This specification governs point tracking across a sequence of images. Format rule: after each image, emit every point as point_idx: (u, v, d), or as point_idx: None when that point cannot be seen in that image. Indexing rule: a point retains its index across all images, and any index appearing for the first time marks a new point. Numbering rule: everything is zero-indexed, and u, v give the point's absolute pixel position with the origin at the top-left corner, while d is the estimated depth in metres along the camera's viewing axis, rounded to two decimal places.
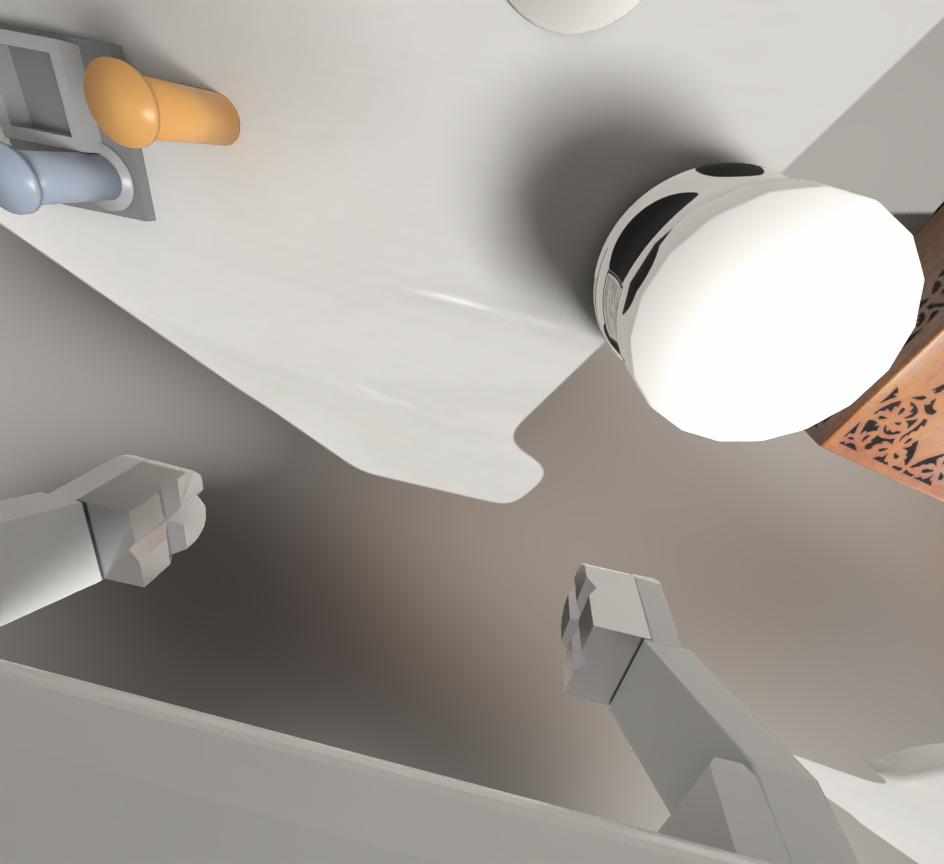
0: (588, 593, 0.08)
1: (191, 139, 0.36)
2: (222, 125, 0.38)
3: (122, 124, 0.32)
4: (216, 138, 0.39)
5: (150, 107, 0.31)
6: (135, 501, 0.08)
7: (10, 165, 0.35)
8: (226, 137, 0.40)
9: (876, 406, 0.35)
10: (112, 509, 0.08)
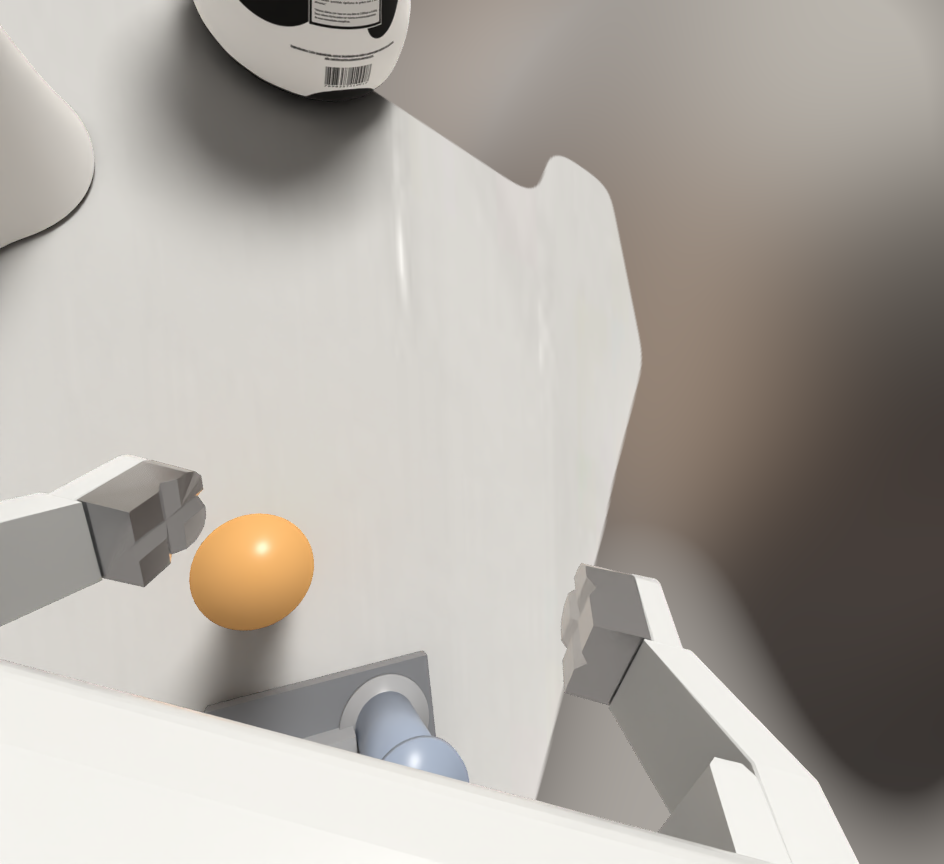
0: (588, 593, 0.08)
1: None
2: None
3: (282, 568, 0.21)
4: None
5: (247, 520, 0.21)
6: (135, 501, 0.08)
7: None
8: None
9: None
10: (112, 509, 0.08)
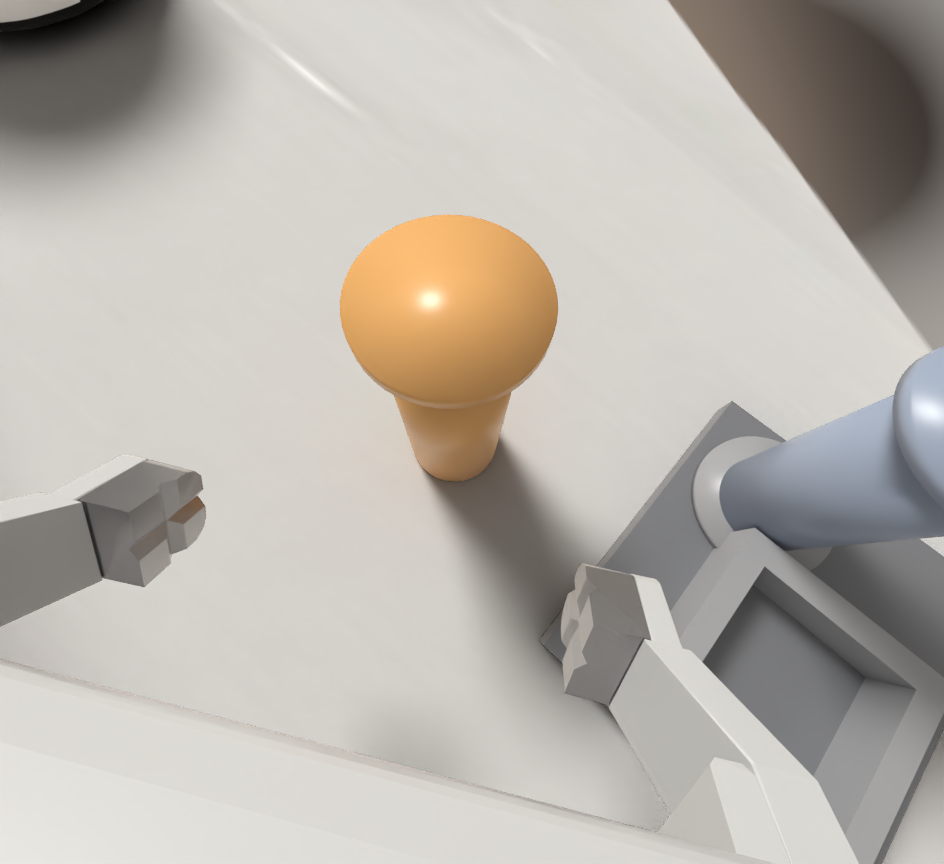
0: (588, 593, 0.08)
1: None
2: None
3: (487, 272, 0.11)
4: None
5: (375, 249, 0.11)
6: (135, 501, 0.08)
7: None
8: None
9: None
10: (112, 509, 0.08)
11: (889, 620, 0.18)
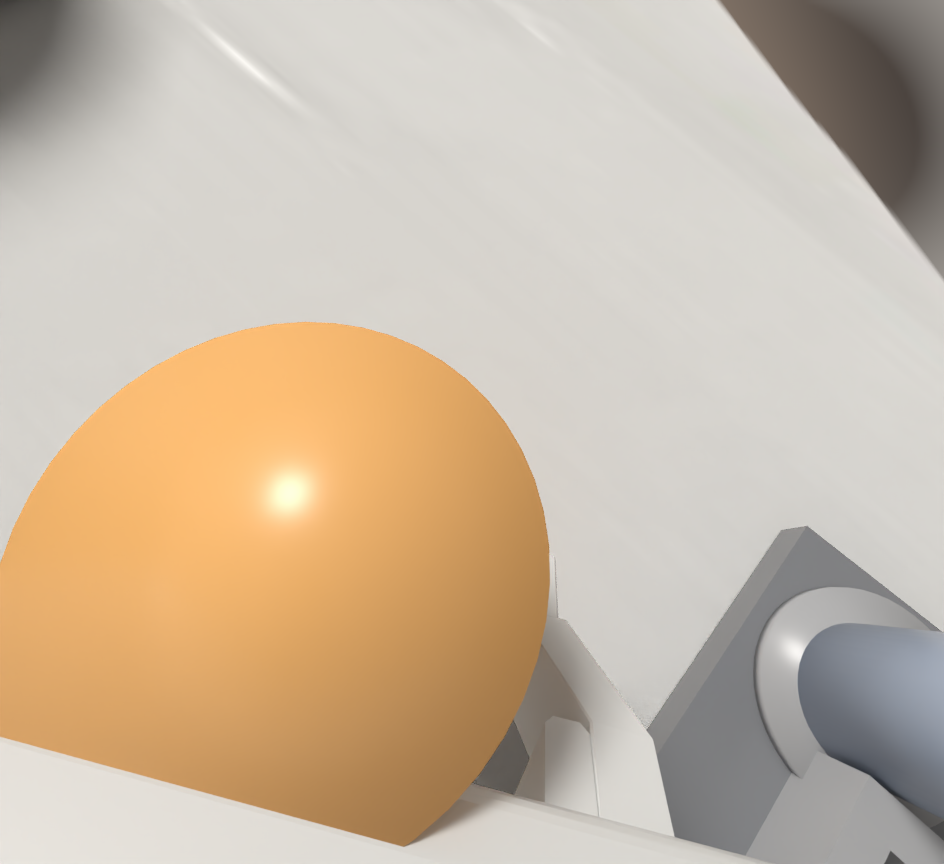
0: None
1: None
2: None
3: (382, 474, 0.05)
4: None
5: (124, 412, 0.05)
6: None
7: None
8: None
9: None
10: None
11: None
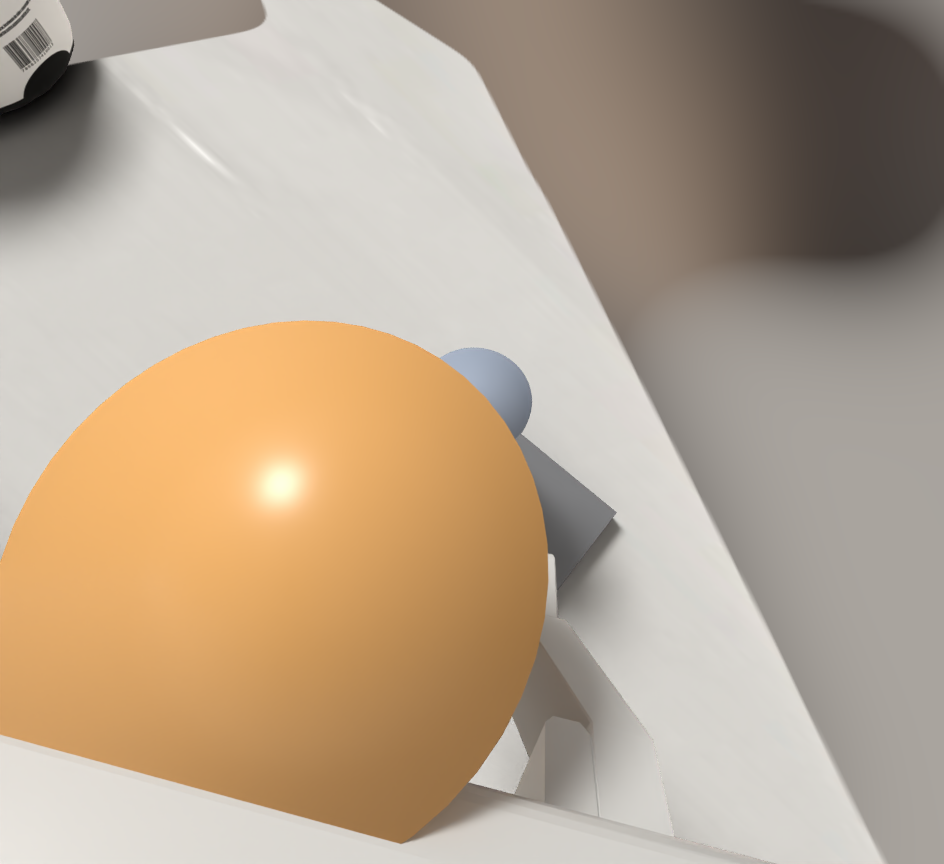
0: None
1: None
2: None
3: (381, 472, 0.05)
4: None
5: (123, 409, 0.05)
6: None
7: None
8: None
9: None
10: None
11: None
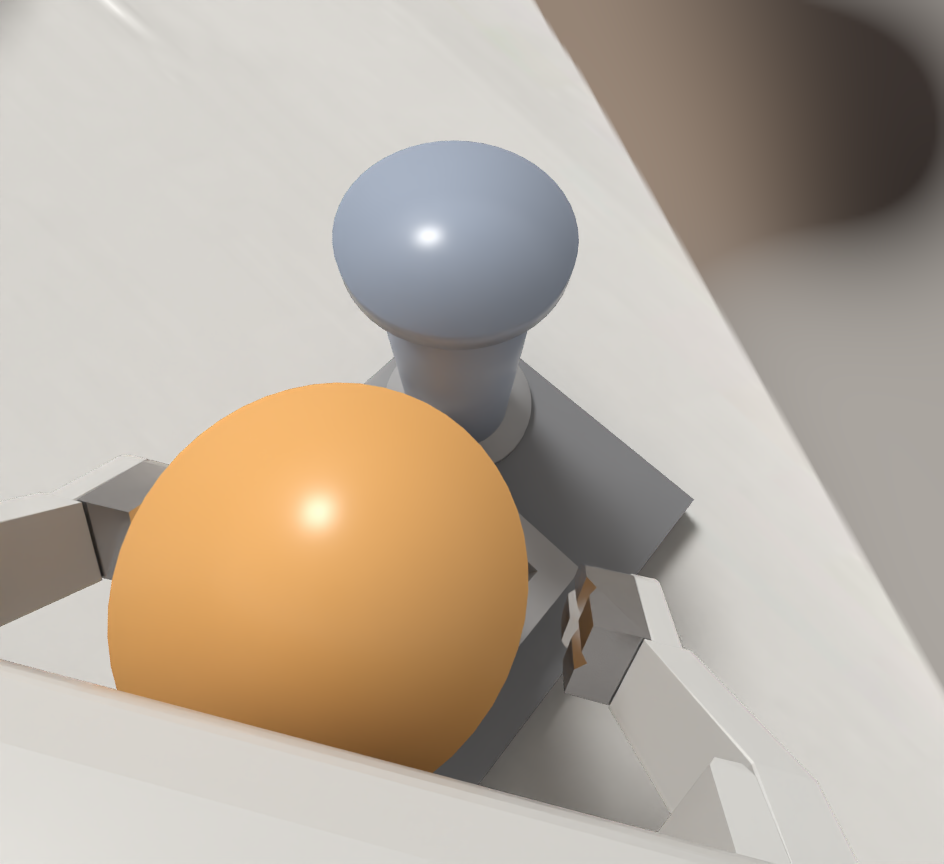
0: (588, 593, 0.08)
1: None
2: None
3: (399, 507, 0.06)
4: None
5: (198, 457, 0.06)
6: (135, 501, 0.08)
7: (385, 231, 0.09)
8: None
9: None
10: (112, 509, 0.08)
11: (568, 517, 0.17)
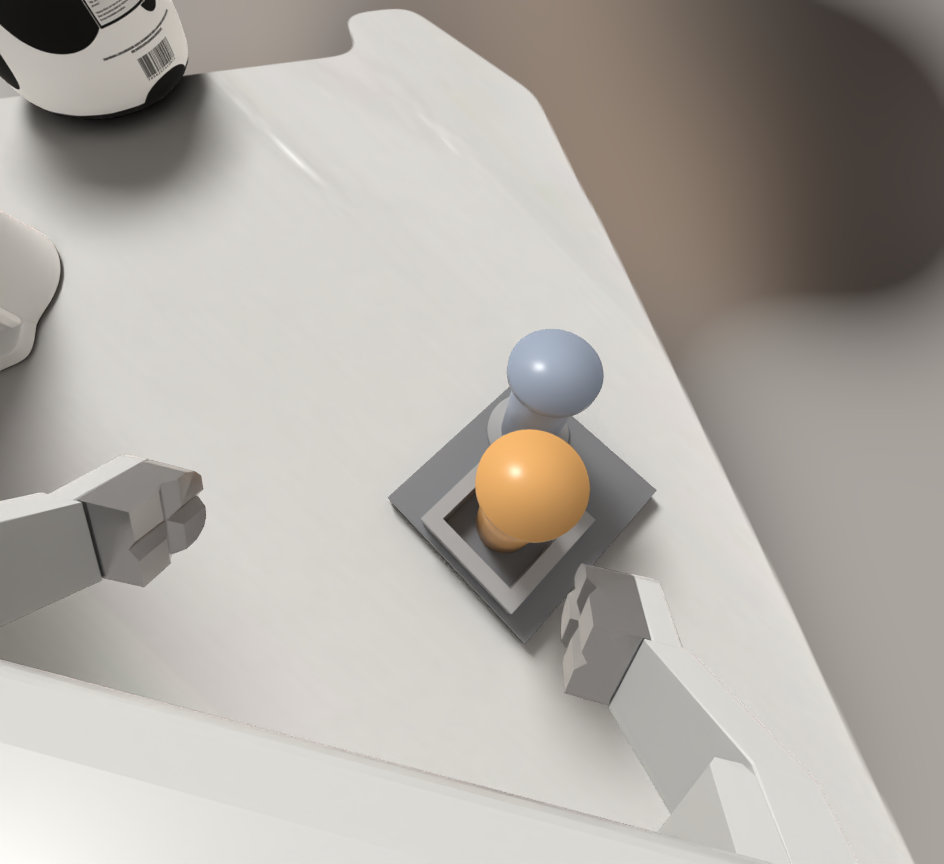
0: (588, 593, 0.08)
1: None
2: None
3: (552, 466, 0.20)
4: None
5: (493, 449, 0.20)
6: (135, 501, 0.08)
7: (528, 369, 0.24)
8: None
9: None
10: (112, 509, 0.08)
11: None
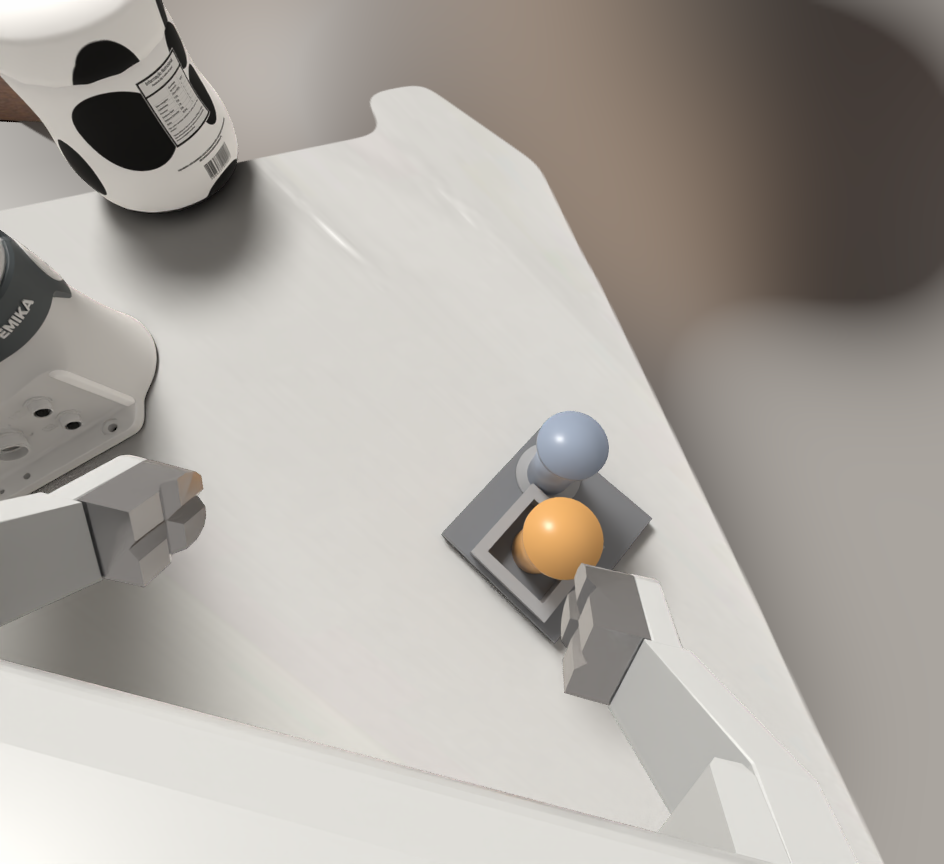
0: (588, 593, 0.08)
1: None
2: None
3: (576, 524, 0.29)
4: None
5: (534, 513, 0.29)
6: (135, 501, 0.08)
7: (552, 445, 0.32)
8: None
9: None
10: (112, 509, 0.08)
11: None
